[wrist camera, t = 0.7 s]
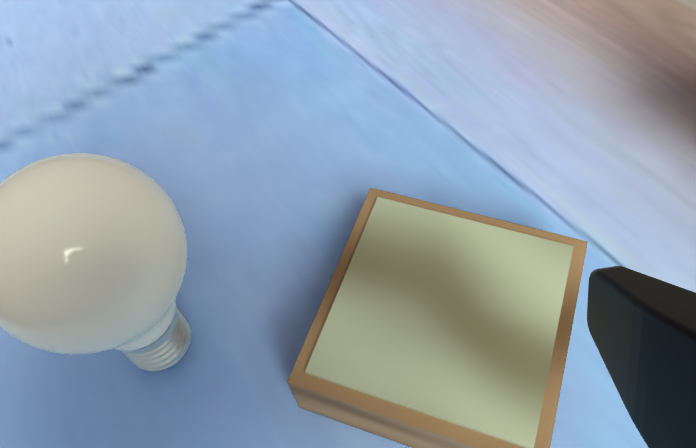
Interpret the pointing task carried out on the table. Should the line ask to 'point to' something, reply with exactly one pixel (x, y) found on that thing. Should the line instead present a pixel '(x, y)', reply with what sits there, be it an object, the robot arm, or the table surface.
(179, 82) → the table surface
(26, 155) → the table surface
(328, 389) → the pedestal
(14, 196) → the lightbulb
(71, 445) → the table surface
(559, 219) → the table surface
